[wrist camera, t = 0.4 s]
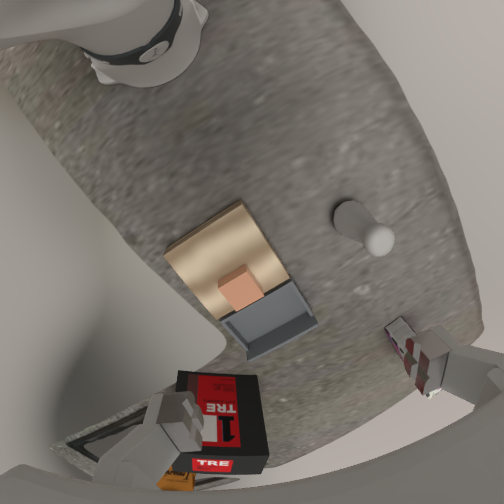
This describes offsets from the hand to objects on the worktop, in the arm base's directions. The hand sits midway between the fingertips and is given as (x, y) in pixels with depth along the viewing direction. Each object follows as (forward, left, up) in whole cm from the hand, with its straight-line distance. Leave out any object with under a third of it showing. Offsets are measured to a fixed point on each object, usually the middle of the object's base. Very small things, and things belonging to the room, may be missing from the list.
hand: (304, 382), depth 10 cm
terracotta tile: (+12, -8, -33) cm, 36 cm away
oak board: (+9, -8, -36) cm, 38 cm away
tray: (+21, -8, -36) cm, 42 cm away
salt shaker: (+13, +12, -36) cm, 40 cm away
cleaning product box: (+32, -27, -36) cm, 56 cm away
